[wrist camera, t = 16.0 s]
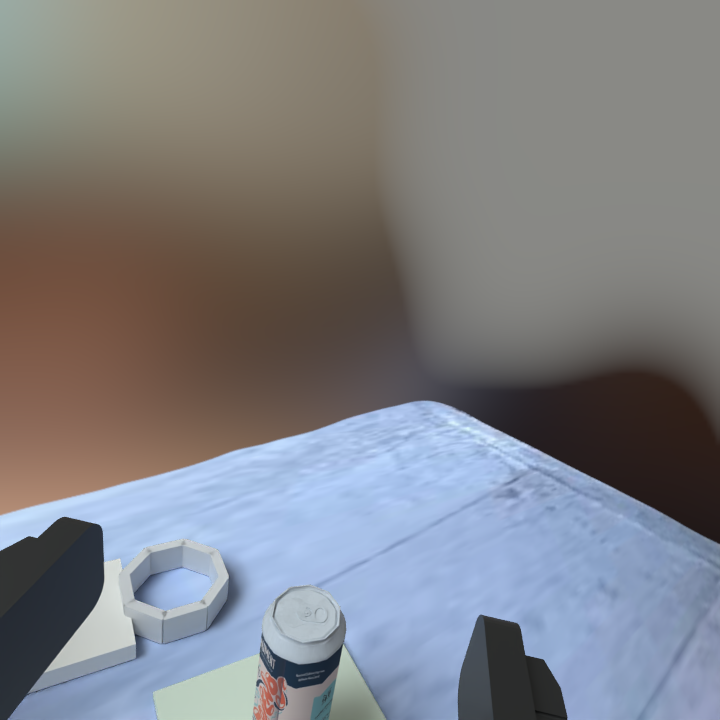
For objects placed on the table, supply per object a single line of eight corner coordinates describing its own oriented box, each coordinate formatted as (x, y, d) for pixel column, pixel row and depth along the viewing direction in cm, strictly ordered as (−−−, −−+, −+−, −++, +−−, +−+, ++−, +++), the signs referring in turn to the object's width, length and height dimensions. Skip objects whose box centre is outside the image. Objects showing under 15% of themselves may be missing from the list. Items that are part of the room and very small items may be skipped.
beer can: (256, 707, 36) (271, 574, 31) (325, 715, 36) (349, 584, 31) (240, 787, 31) (255, 644, 27) (319, 795, 31) (347, 655, 27)
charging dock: (208, 550, 49) (209, 529, 48) (237, 625, 42) (239, 602, 41) (-88, 622, 38) (-94, 597, 37) (-116, 740, 31) (-124, 712, 30)
